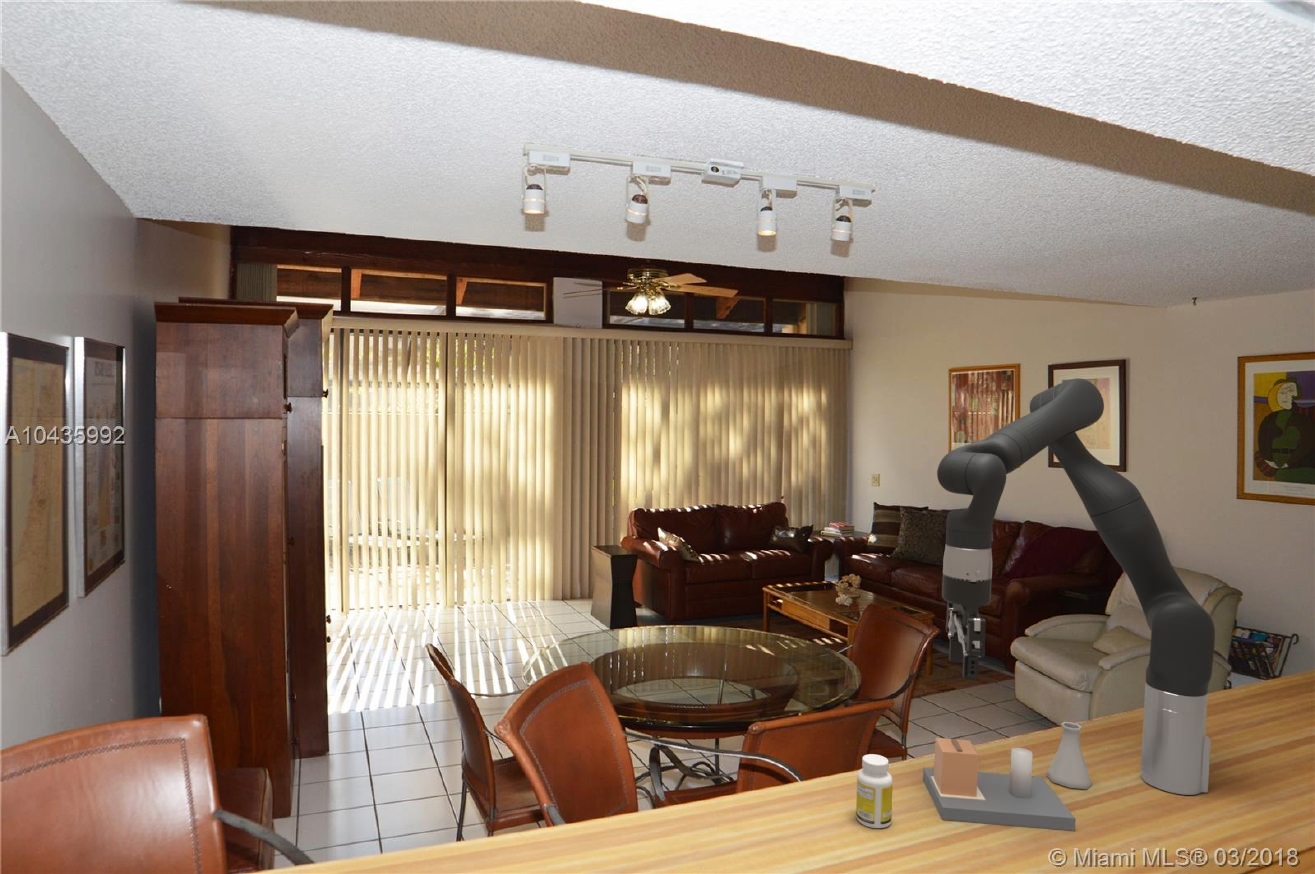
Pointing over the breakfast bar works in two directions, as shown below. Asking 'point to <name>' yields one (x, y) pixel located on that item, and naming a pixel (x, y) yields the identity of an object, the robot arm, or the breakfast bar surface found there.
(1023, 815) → the post board
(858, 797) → the supplement bottle
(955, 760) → the slotted tan cube
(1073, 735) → the flask
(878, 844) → the breakfast bar surface
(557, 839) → the breakfast bar surface
